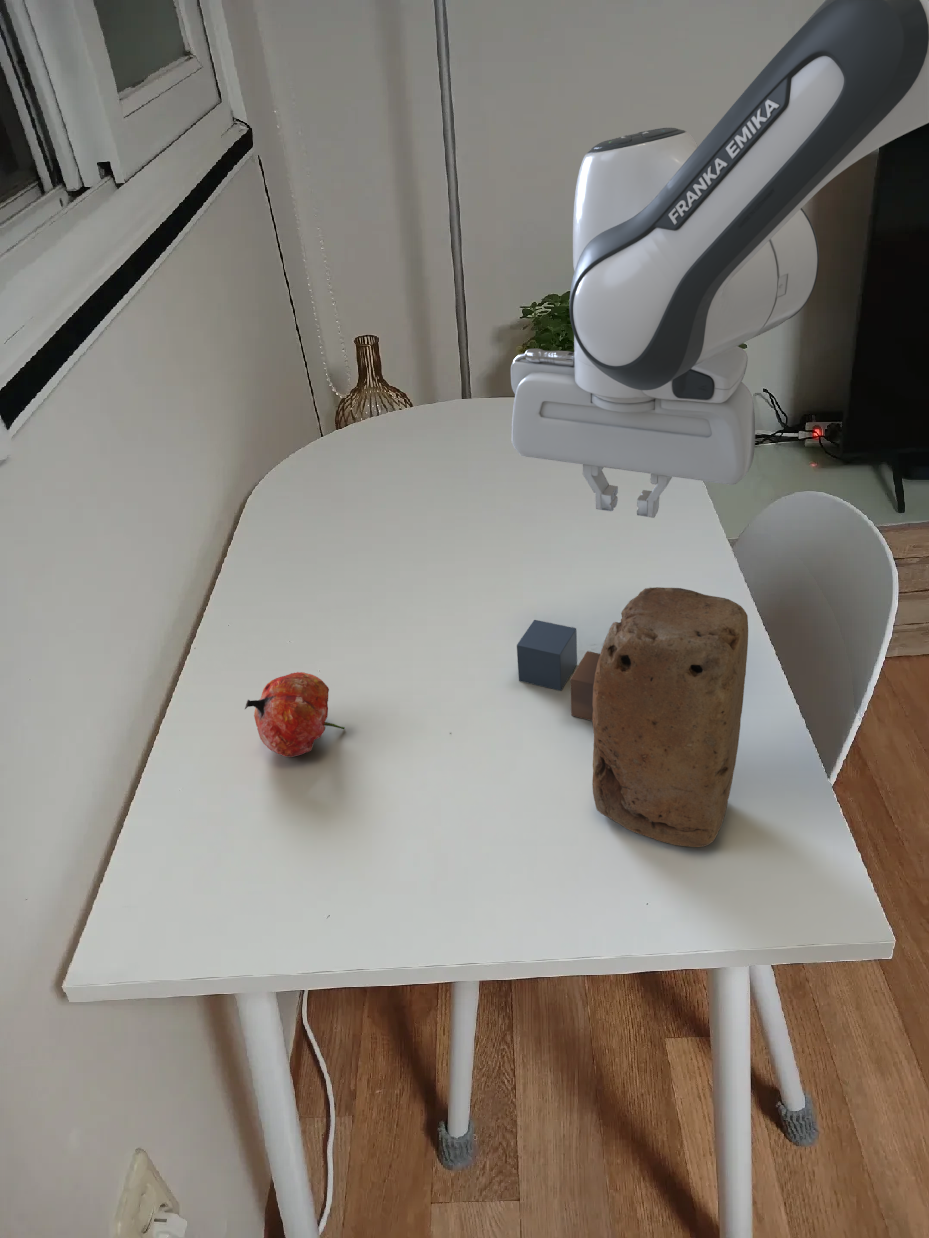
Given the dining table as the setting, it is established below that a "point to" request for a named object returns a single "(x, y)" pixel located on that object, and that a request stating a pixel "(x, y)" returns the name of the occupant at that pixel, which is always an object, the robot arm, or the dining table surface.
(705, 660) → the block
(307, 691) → the pomegranate
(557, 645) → the slate cube
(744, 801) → the dining table surface
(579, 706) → the walnut cube
